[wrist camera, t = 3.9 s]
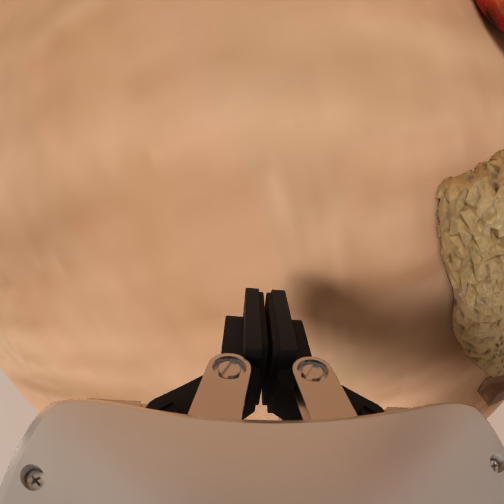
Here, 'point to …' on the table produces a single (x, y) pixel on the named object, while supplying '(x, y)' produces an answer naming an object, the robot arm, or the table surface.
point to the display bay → (492, 389)
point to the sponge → (476, 259)
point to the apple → (493, 12)
